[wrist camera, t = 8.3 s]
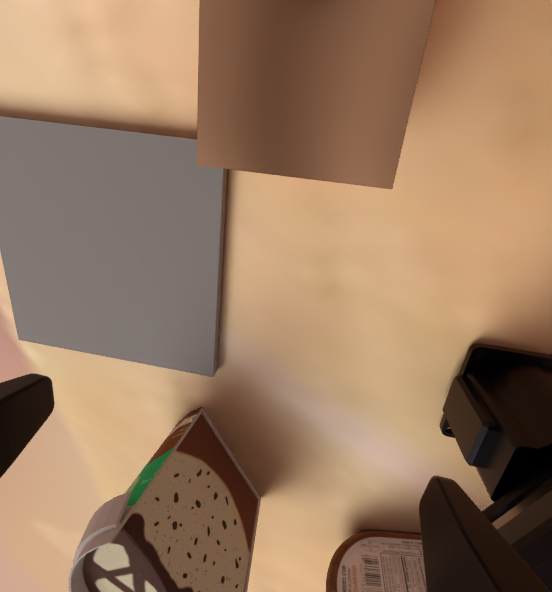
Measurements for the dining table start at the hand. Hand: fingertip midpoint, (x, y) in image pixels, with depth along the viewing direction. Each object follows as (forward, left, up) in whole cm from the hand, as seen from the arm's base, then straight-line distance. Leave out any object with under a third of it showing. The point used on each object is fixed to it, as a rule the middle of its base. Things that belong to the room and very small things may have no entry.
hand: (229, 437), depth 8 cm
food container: (+5, +17, -13) cm, 22 cm away
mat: (+11, +1, -13) cm, 17 cm away
